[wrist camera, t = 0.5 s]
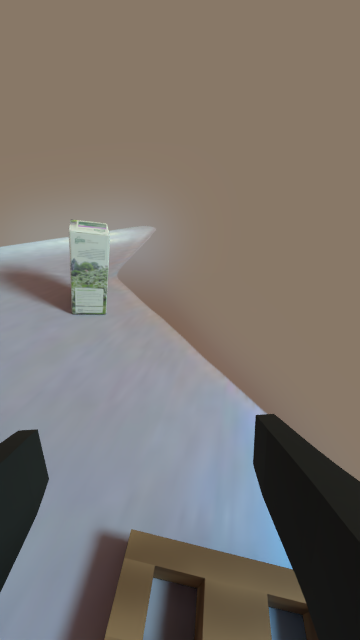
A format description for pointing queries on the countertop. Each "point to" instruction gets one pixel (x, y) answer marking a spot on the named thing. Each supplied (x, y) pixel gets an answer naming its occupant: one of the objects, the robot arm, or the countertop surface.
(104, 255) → the syrup box
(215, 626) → the wooden board with holes
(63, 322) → the countertop surface
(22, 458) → the robot arm
